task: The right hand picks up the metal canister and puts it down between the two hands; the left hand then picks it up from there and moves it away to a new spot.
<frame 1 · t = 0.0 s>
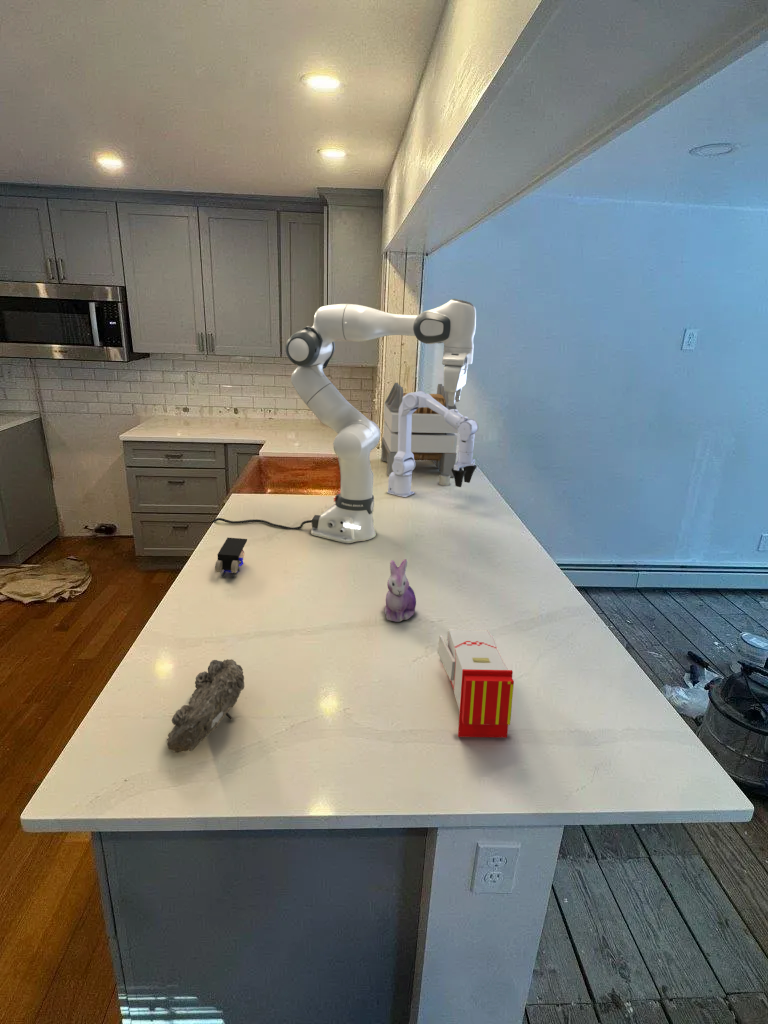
left hand: (454, 403, 174), 48 cm above the counter, tool pointing down, fingers open, 8 cm apart
right hand: (462, 484, 225), 10 cm above the counter, tool pointing down, fingers open, 7 cm apart
fossil: (212, 717, 108), on the counter
figurine: (399, 614, 147), on the counter
canister: (444, 484, 260), on the counter
figurine character: (232, 569, 168), on the counter
toy: (469, 691, 119), on the counter
transformer: (416, 467, 284), on the counter
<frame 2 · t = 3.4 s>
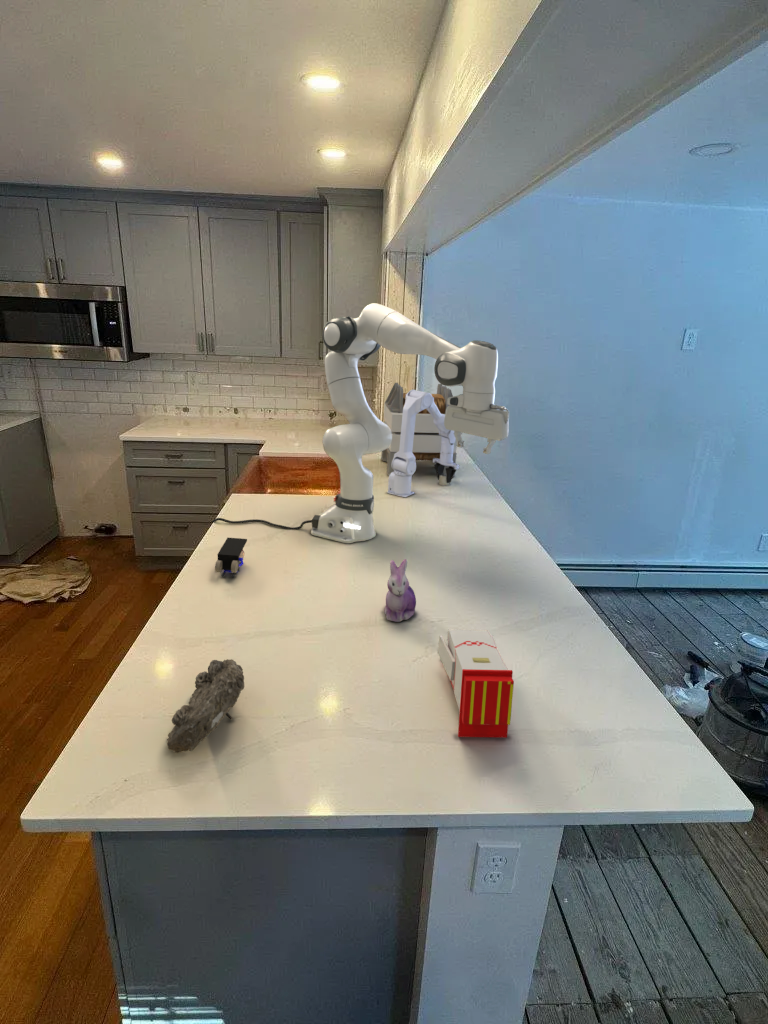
left hand: (473, 450, 163), 37 cm above the counter, tool pointing down, fingers open, 8 cm apart
right hand: (444, 481, 259), 1 cm above the counter, tool pointing down, fingers closed on canister, 5 cm apart
canister: (444, 484, 260), on the counter, touching right hand
everything else where it was.
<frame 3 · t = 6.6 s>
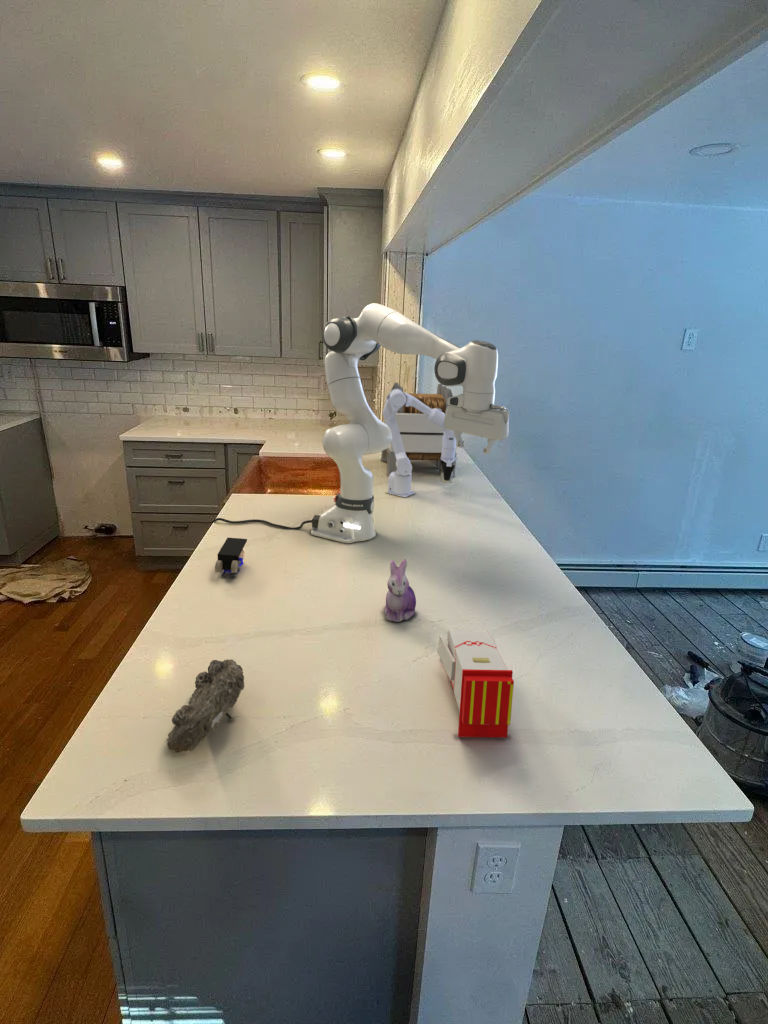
left hand: (473, 450, 163), 37 cm above the counter, tool pointing down, fingers open, 8 cm apart
right hand: (446, 478, 242), 7 cm above the counter, tool pointing down, fingers closed on canister, 5 cm apart
canister: (446, 481, 243), point 6 cm above the counter, touching right hand
everything else where it was.
when the right hand's fingers open (2 cm above the counter, at t = 9.7 s): canister stays where it is, on the counter.
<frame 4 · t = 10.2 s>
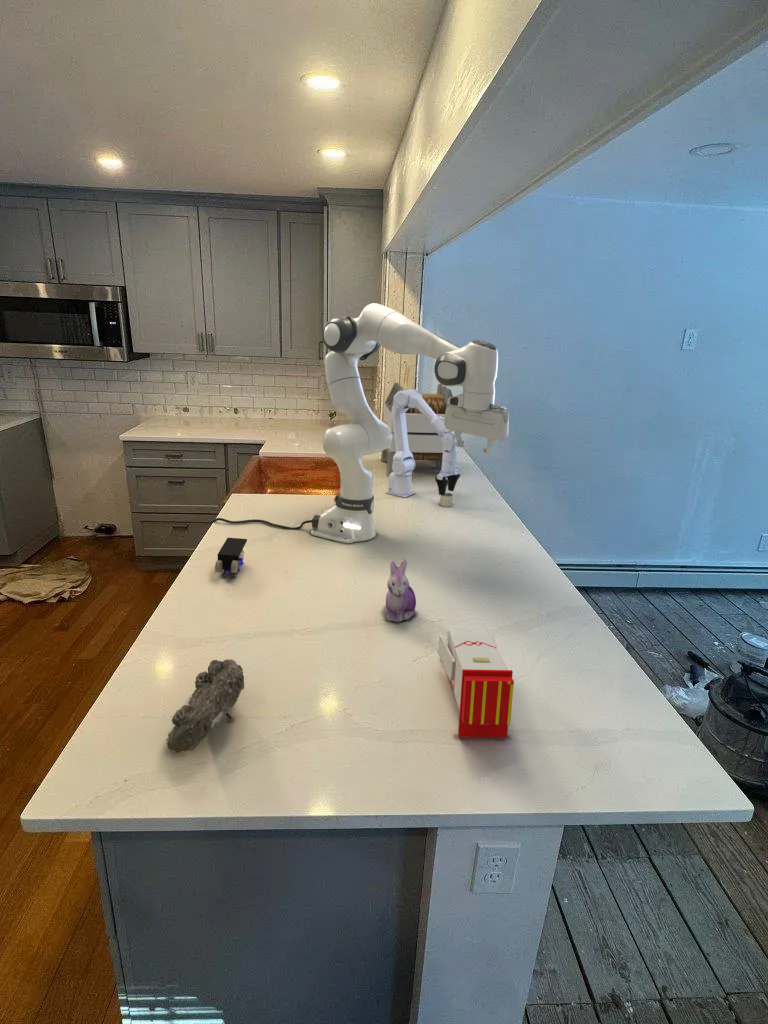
left hand: (473, 450, 163), 37 cm above the counter, tool pointing down, fingers open, 8 cm apart
right hand: (446, 492, 231), 5 cm above the counter, tool pointing down, fingers open, 7 cm apart
canister: (445, 504, 232), on the counter
everything else where it was.
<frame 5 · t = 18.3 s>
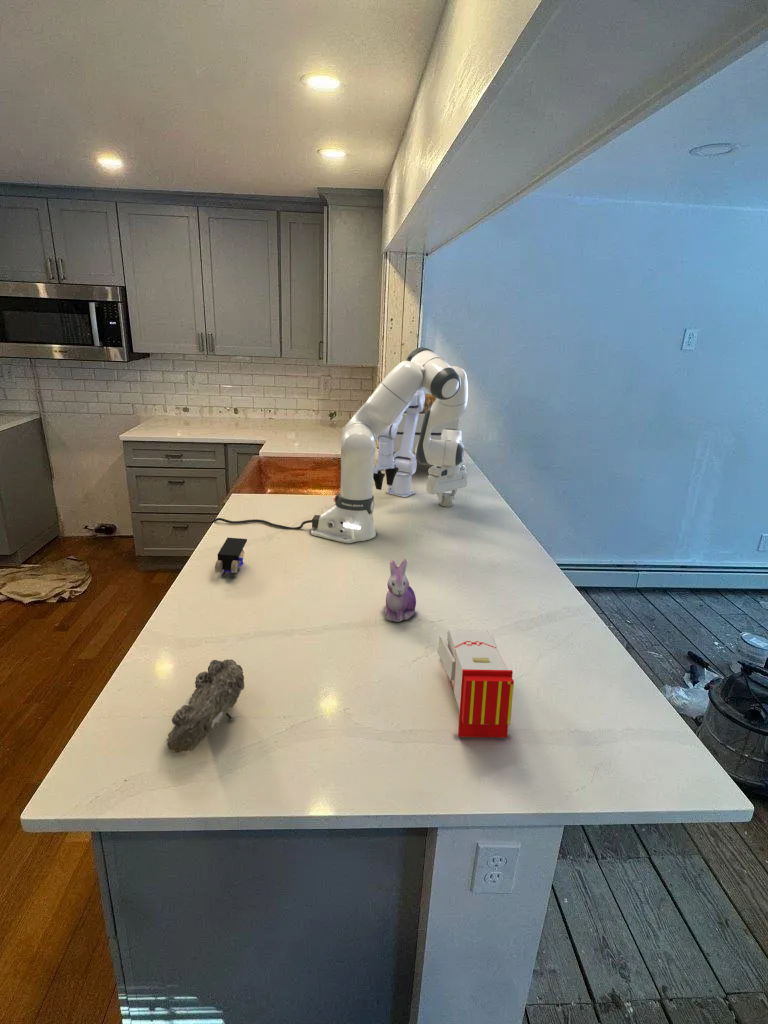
left hand: (446, 500, 232), 2 cm above the counter, tool pointing down, fingers closed on canister, 5 cm apart
right hand: (384, 487, 224), 8 cm above the counter, tool pointing down, fingers open, 7 cm apart
canister: (445, 504, 232), on the counter, touching left hand
everything else where it was.
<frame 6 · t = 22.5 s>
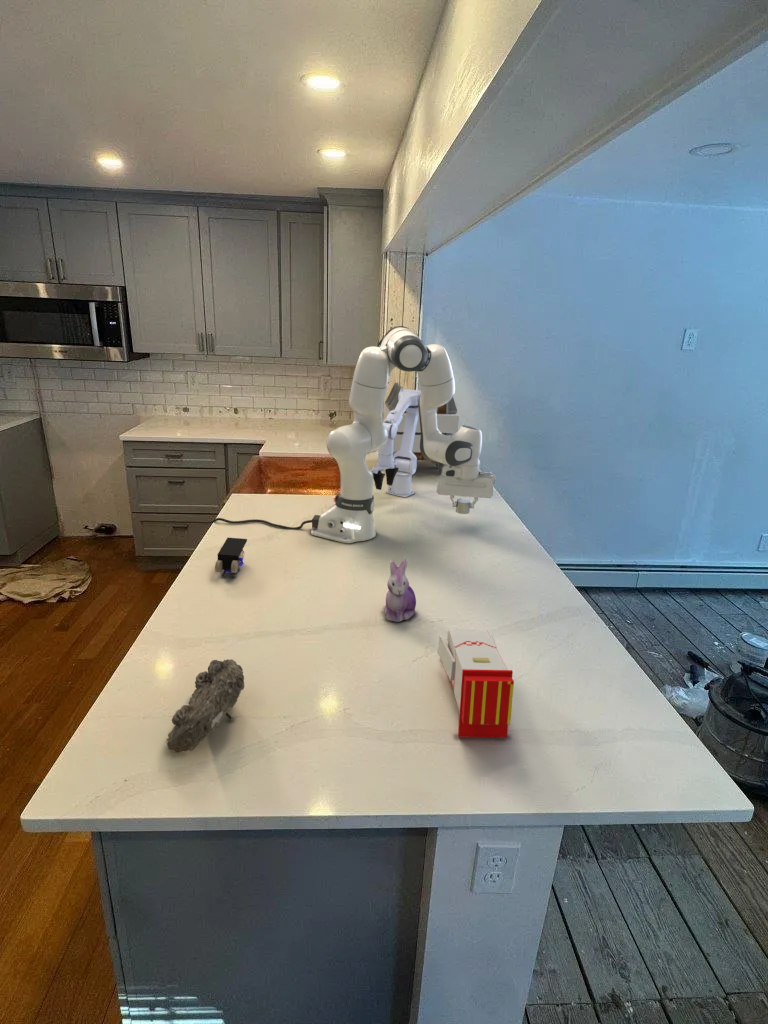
left hand: (462, 507, 207), 7 cm above the counter, tool pointing down, fingers closed on canister, 5 cm apart
right hand: (384, 487, 224), 8 cm above the counter, tool pointing down, fingers open, 7 cm apart
canister: (462, 511, 208), point 6 cm above the counter, touching left hand
everything else where it was.
when the left hand's fingers open (3 cm above the counter, at t = 26.6 s): canister stays where it is, on the counter.
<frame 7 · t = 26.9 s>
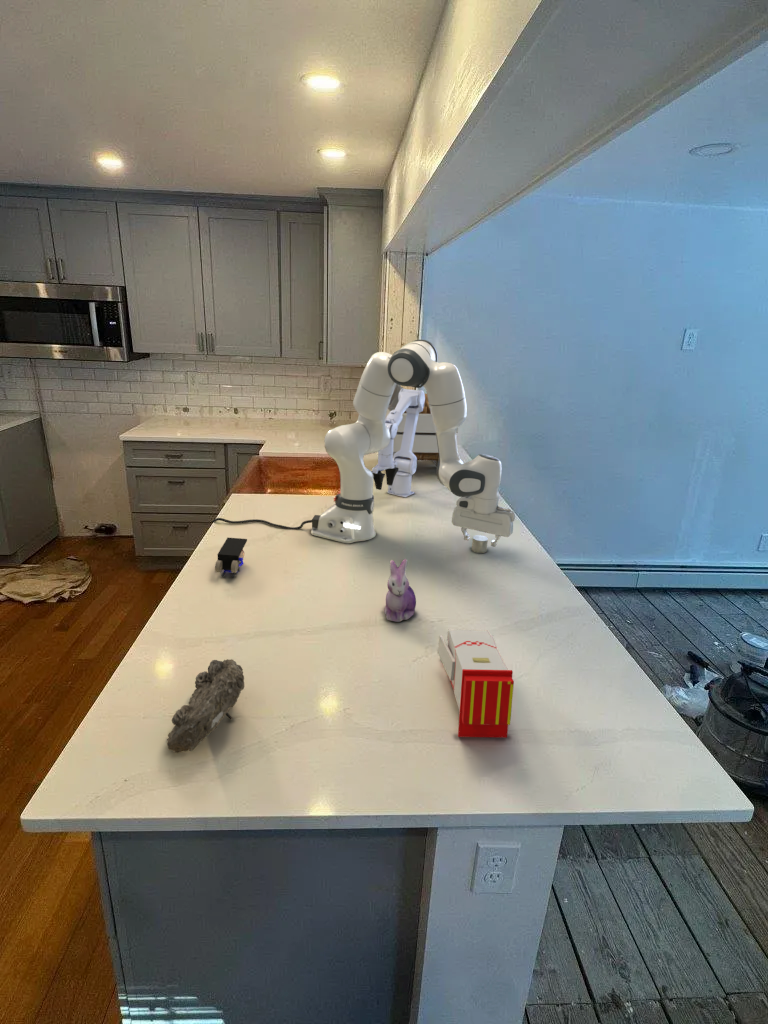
left hand: (479, 542, 189), 3 cm above the counter, tool pointing down, fingers open, 8 cm apart
right hand: (384, 487, 224), 8 cm above the counter, tool pointing down, fingers open, 7 cm apart
canister: (479, 550, 189), on the counter
everything else where it was.
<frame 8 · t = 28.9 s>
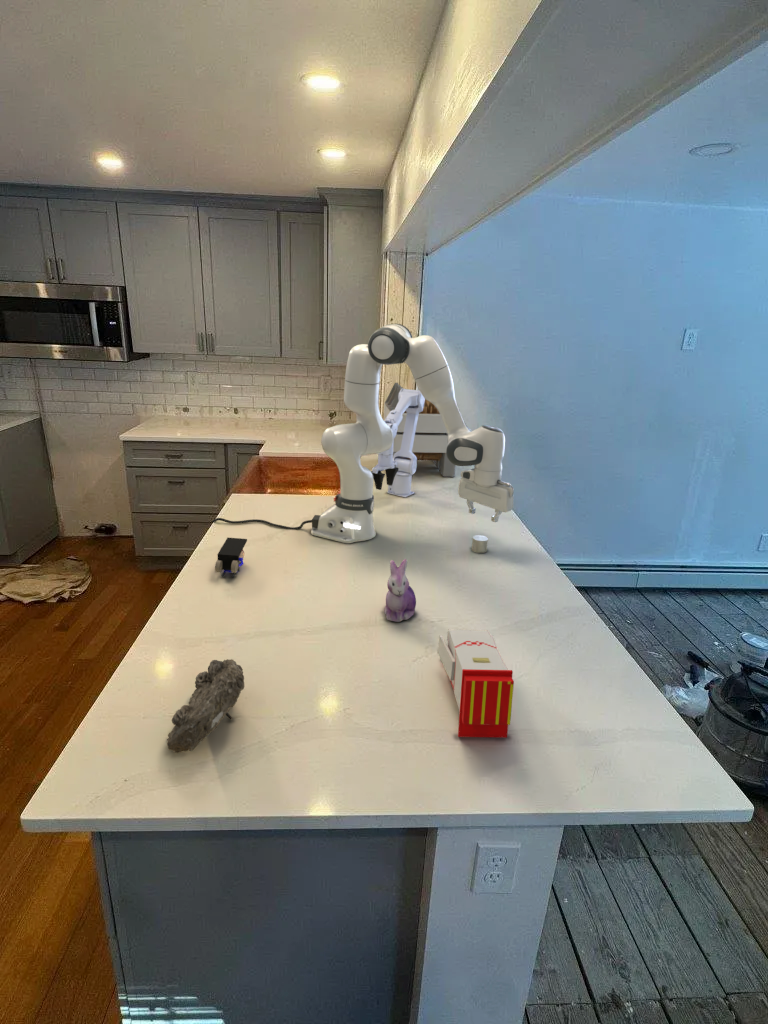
left hand: (482, 517, 185), 12 cm above the counter, tool pointing down, fingers open, 8 cm apart
right hand: (384, 487, 224), 8 cm above the counter, tool pointing down, fingers open, 7 cm apart
nothing on the counter moved.
at the end: canister inside the target area (0.1 cm from its centre), on the counter; canister tilted 0°; the two hands never held the canister at the same time; the left hand is holding nothing; the right hand is holding nothing; canister at rest at the end (0.0 cm/s) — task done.
